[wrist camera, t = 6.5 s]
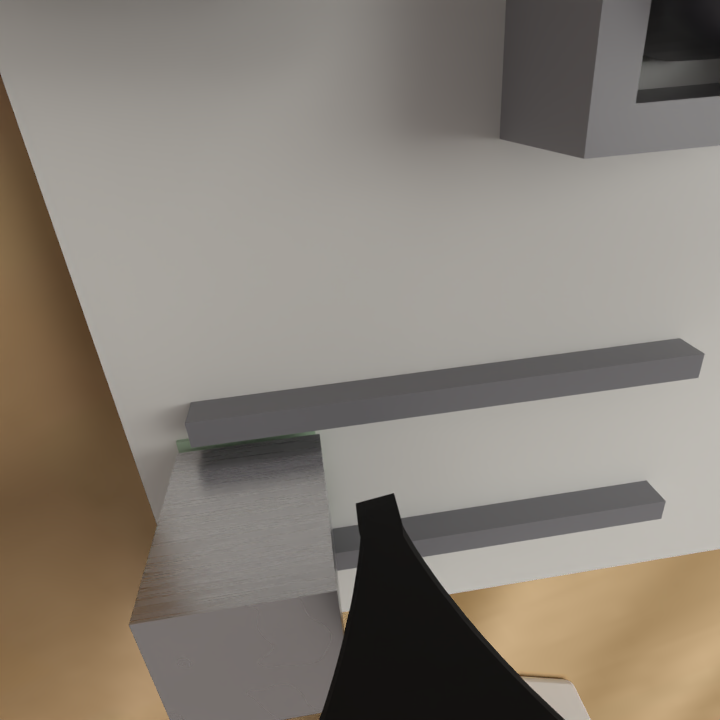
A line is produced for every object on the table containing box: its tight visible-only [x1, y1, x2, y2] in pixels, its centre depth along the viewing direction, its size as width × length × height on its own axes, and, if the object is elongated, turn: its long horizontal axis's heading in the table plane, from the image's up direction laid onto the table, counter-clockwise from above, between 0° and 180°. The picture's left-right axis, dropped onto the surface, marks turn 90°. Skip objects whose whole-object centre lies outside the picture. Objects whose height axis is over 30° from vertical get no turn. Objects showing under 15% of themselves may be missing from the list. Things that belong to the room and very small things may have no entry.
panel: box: [0, 0, 720, 612], centre depth 10 cm, size 18×20×4 cm
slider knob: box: [129, 434, 344, 720], centre depth 10 cm, size 3×3×4 cm
